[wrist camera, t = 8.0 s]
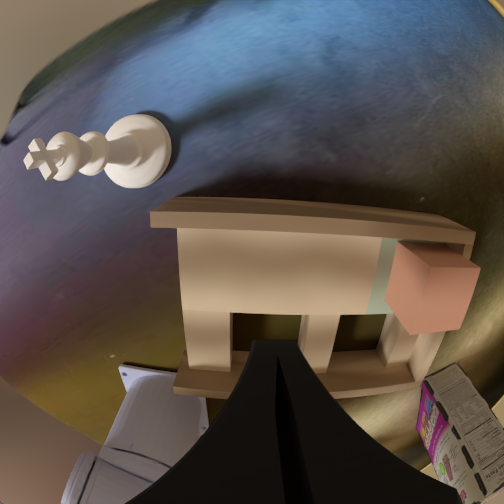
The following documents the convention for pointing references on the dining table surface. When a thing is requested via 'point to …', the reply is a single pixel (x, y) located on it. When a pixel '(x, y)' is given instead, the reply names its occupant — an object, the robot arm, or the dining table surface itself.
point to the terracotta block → (430, 287)
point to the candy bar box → (461, 435)
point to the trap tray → (298, 286)
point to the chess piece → (107, 153)
